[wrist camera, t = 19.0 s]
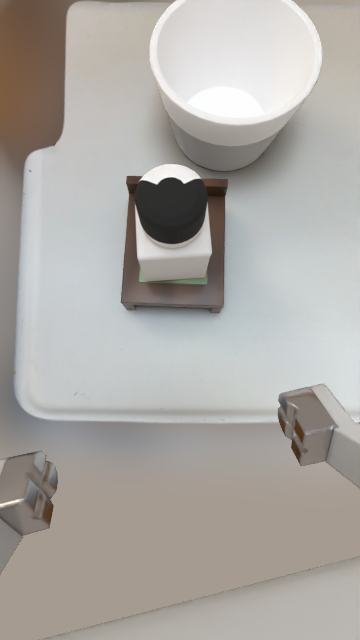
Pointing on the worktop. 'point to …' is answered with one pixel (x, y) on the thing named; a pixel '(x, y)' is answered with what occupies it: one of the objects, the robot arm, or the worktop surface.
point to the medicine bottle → (172, 224)
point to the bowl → (232, 75)
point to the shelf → (181, 290)
